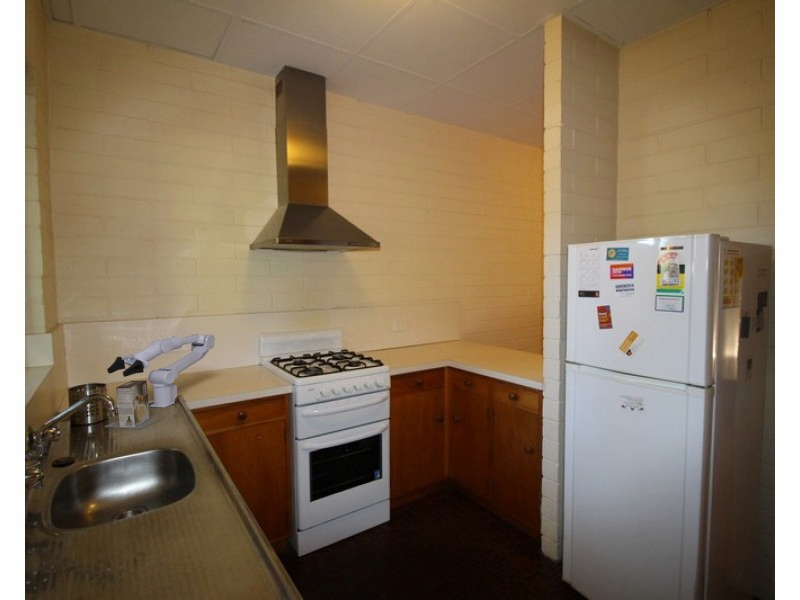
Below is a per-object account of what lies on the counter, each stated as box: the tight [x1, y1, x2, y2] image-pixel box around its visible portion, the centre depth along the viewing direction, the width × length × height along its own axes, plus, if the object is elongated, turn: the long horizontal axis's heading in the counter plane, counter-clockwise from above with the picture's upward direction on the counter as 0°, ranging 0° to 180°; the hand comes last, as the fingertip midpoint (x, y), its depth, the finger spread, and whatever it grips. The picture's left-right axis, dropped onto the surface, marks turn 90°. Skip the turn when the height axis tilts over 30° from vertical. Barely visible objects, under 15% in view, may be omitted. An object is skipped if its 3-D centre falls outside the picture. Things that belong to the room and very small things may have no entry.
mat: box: [104, 418, 159, 430], centre depth 163 cm, size 9×16×1 cm, turn 80°
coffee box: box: [116, 379, 151, 427], centre depth 162 cm, size 9×6×16 cm
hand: (115, 373), depth 163 cm, fingers open, 7 cm apart
